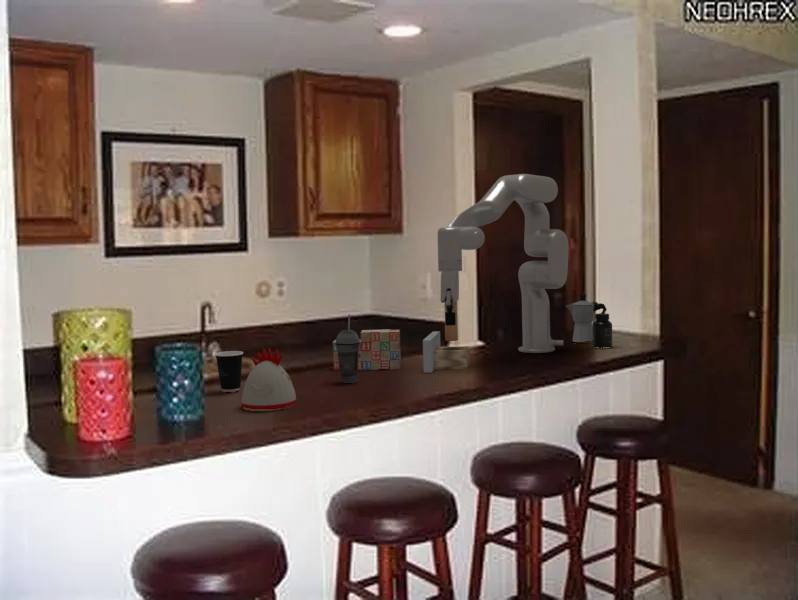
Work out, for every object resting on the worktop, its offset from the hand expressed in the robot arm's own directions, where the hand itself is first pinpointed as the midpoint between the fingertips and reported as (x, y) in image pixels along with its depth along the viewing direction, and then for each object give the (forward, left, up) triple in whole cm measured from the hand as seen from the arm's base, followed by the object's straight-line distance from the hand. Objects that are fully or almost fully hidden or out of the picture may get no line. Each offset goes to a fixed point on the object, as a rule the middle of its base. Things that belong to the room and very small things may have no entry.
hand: (451, 323), depth 264 cm
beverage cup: (+27, +27, -14) cm, 41 cm away
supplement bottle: (-49, -40, -14) cm, 65 cm away
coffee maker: (-44, -54, -14) cm, 71 cm away
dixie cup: (+58, +41, -14) cm, 73 cm away
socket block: (0, 0, -14) cm, 14 cm away
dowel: (0, 0, -5) cm, 5 cm away
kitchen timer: (+40, +60, -14) cm, 73 cm away
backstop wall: (+6, 0, -14) cm, 15 cm away
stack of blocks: (+27, +2, -14) cm, 31 cm away
